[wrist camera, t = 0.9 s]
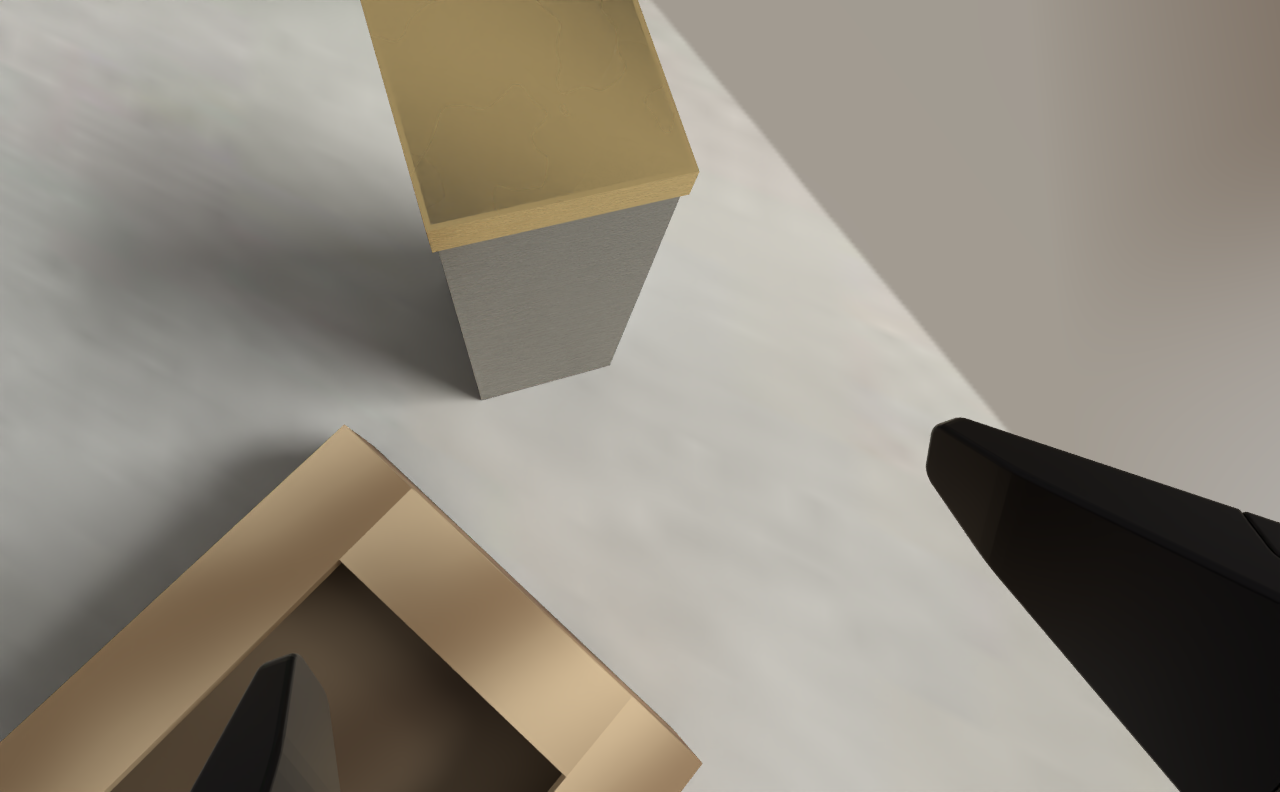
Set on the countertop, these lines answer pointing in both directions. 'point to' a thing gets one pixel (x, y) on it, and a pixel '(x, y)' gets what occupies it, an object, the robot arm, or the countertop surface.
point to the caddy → (352, 659)
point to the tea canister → (535, 169)
